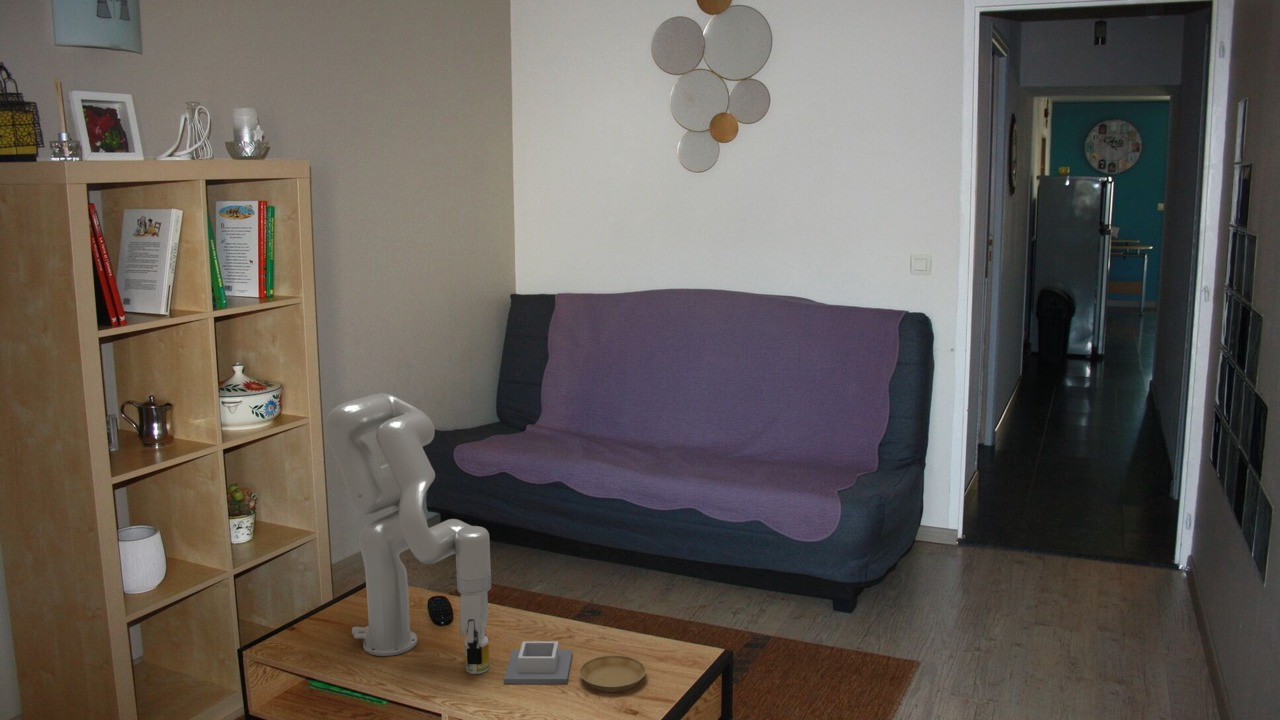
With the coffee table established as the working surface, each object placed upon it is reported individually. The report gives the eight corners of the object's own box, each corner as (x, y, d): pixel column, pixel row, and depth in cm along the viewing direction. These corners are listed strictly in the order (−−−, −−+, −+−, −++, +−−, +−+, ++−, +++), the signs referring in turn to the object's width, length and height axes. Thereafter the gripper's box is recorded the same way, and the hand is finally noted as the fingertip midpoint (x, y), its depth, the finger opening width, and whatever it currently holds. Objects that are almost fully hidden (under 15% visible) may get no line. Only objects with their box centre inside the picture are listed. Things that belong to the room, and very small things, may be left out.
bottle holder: (503, 684, 227) (503, 664, 226) (512, 654, 240) (512, 635, 240) (567, 684, 226) (566, 664, 226) (572, 654, 240) (571, 635, 239)
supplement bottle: (492, 663, 236) (490, 624, 234) (486, 675, 231) (484, 634, 229) (469, 662, 237) (467, 623, 235) (462, 674, 231) (461, 633, 230)
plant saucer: (582, 665, 236) (582, 654, 235) (646, 665, 235) (646, 654, 235) (576, 697, 221) (576, 686, 221) (645, 698, 221) (645, 686, 220)
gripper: (464, 567, 238) (467, 640, 242) (449, 597, 222) (453, 675, 225) (496, 567, 238) (499, 640, 242) (484, 597, 221) (487, 675, 225)
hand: (477, 656), depth 233 cm, fingers closed on supplement bottle, 5 cm apart
